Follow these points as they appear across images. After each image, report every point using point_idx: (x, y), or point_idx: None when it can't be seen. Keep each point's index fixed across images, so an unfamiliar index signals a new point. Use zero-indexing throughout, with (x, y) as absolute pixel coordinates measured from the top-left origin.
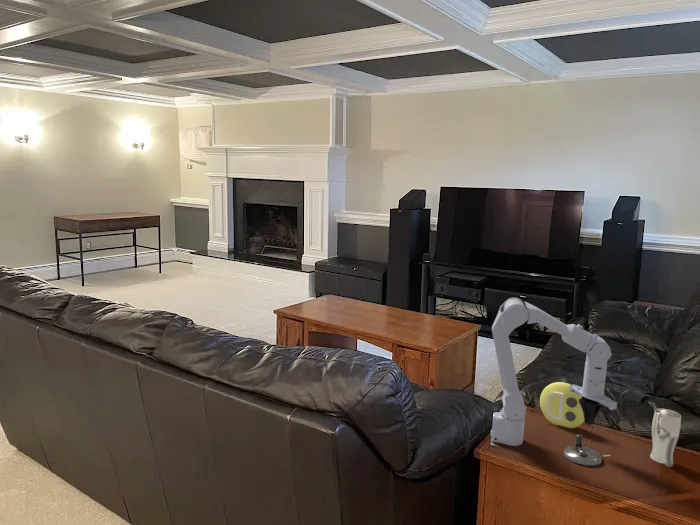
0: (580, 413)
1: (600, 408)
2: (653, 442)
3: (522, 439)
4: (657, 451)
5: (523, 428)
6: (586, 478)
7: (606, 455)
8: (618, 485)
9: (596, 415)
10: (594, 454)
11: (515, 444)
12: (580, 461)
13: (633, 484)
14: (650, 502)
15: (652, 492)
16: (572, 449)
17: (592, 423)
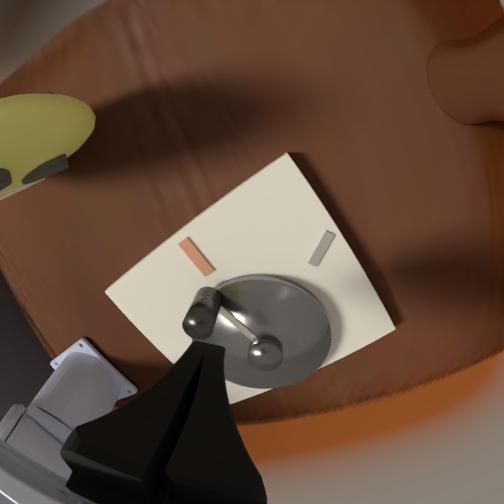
0: (53, 145)
1: (243, 454)
2: (494, 106)
3: (108, 387)
4: (493, 119)
5: (93, 412)
6: (323, 392)
7: (319, 250)
8: (402, 359)
9: (226, 391)
10: (293, 315)
11: (117, 398)
12: (284, 386)
13: (435, 323)
14: (471, 357)
15: (477, 316)
16: (217, 342)
17: (224, 356)
